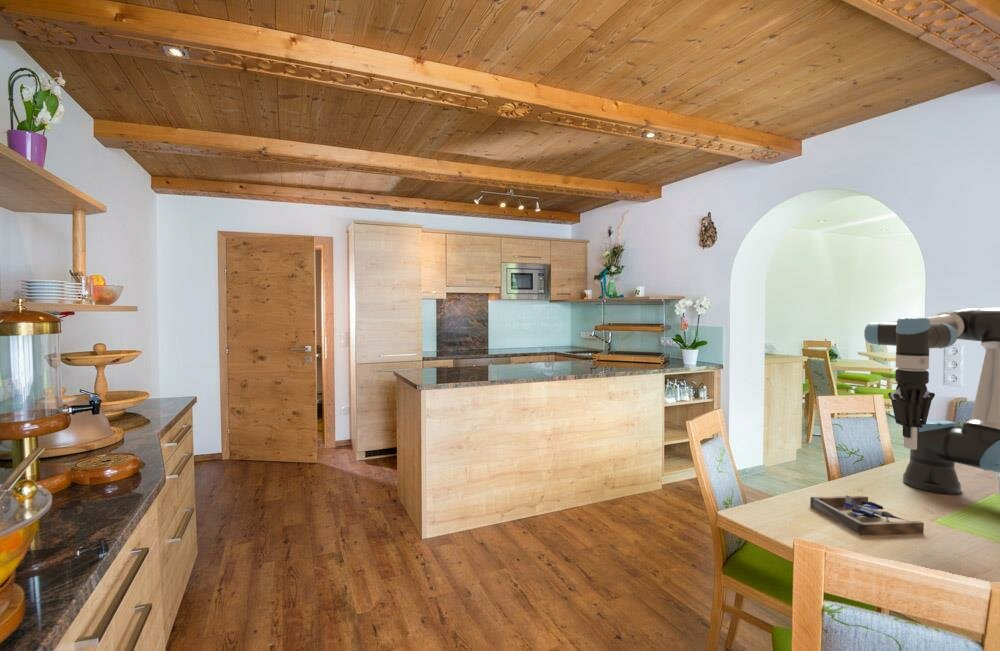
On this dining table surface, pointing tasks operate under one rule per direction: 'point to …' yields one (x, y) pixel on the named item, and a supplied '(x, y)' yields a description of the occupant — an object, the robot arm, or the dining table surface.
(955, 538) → the dining table surface
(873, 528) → the frame
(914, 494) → the dining table surface
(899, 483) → the dining table surface
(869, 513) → the toy airplane
